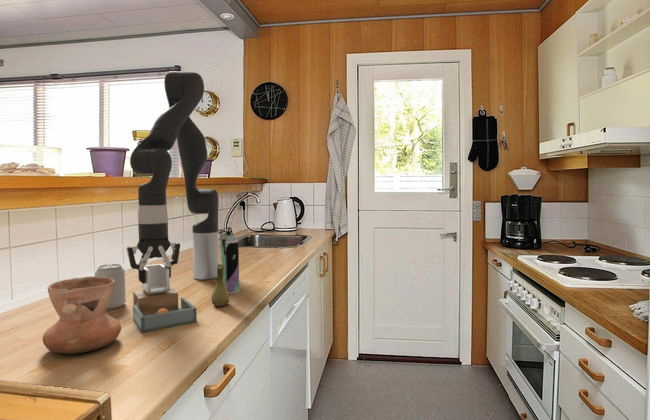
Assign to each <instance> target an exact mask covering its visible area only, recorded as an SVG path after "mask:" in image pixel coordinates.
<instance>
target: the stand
mask: <svg viewBox="0 0 650 420" xmlns="http://www.w3.org/2000/svg"><path fill="white" fill-rule="evenodd" d="M132 291H133V292H132V296H133V298H132V299H133V305H137V307H138V308H139V310H140V311H141V313H142V314H149V313H154V312H157V311H158V310H159V309H162V308H164V309H167V310H172V309H177V308H179V293H178V291H177V290H176V289H174V288H173V287H172V286H171V285H170V291H165V292H158V293H151V294H147V292H146V291H145V290H144V289H138V290H132Z"/></svg>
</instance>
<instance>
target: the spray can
mask: <svg viewBox="0 0 650 420" xmlns="http://www.w3.org/2000/svg"><path fill="white" fill-rule="evenodd" d="M224 235H225V236H223V237H221V239H220V240H221V241H220V247H221V249H220V251H221V253H220V255H221V257H220V258H221V260H220V261H221V264H223V267H224V271H223V279H224V283H225V285H226V288H227V290H228V294H229V295H235V294H238V293H240V257H239V256H240V254H239V252H240V251H239V248H240V247H239V238H238V237H237V236H235V234H234V233H233V230H228V231H226V233H225V234H224Z"/></svg>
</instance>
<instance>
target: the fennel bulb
mask: <svg viewBox="0 0 650 420" xmlns="http://www.w3.org/2000/svg"><path fill="white" fill-rule="evenodd" d="M223 271H224V267H223V264H222V263H219V264H218V267H217V275H218V277H217V282H216V284H215V287H214V290H213V292H212V294H211V302H212V304H213V306H214V307H224V306H228V304H229V303H230V294H228V290H227V288H226V285H225V283H224V279H223Z"/></svg>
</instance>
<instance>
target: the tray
mask: <svg viewBox="0 0 650 420" xmlns="http://www.w3.org/2000/svg"><path fill="white" fill-rule="evenodd" d="M156 313H157V312H154V313H149V314H142V313H141V311H140V310H139V308H138V307H137V305H134V304H133V305H132V319H133V321H134V322H135V324H136V326H137V328H138V329H139V331H140V333H144V332H146V333H147V332H151V331H155V330H161V329H166V328H172V327H176V326H181V325H186V324H191V323H196V322H197V321H198V320H197V318H198V317H197V316H198V315H197V307H196V306H194V305H193V304H192V303H191V302H190V301H188V299H187V298H185V297H183V296H182V297H180V307H178V308H177V309H172V310H168V312H166V313H161V314H156Z"/></svg>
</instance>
